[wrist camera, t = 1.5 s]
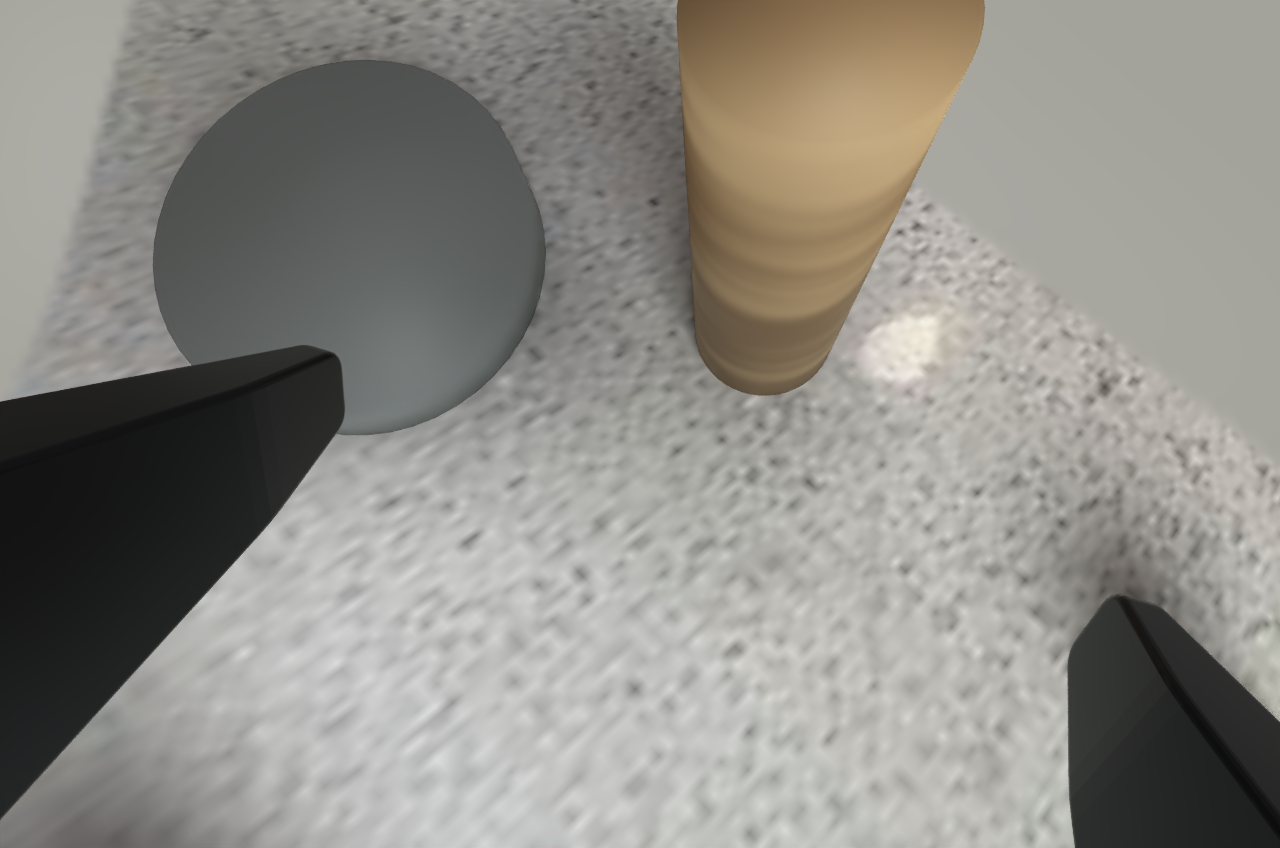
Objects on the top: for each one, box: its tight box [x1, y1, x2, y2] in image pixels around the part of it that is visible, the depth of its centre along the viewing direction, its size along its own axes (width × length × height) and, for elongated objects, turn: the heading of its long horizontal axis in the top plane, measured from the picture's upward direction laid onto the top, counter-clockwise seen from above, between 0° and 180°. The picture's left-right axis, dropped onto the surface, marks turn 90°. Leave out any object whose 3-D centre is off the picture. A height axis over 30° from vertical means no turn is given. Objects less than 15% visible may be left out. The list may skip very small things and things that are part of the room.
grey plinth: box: [153, 60, 546, 435], centre depth 22 cm, size 11×11×2 cm
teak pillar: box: [677, 0, 985, 395], centre depth 16 cm, size 4×4×12 cm
